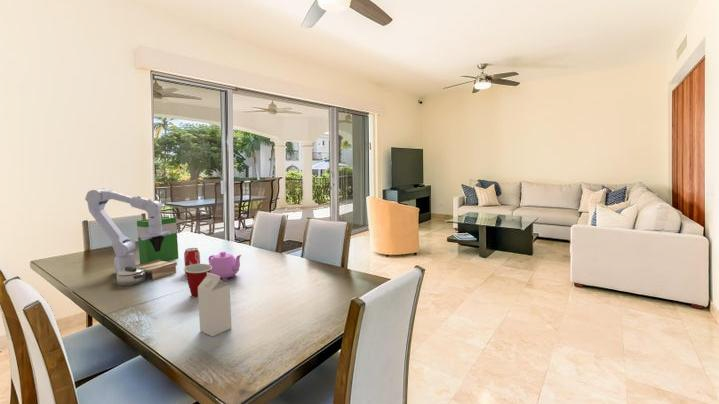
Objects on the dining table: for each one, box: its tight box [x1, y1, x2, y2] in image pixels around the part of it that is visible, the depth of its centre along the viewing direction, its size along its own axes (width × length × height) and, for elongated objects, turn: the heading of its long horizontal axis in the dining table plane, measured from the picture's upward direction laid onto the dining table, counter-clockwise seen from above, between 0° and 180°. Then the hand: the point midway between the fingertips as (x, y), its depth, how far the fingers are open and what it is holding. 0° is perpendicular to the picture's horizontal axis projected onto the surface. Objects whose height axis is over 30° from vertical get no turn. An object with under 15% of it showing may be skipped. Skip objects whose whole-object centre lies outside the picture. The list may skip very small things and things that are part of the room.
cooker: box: [115, 270, 147, 287], centre depth 163 cm, size 15×11×4 cm
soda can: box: [183, 247, 201, 267], centre depth 176 cm, size 7×7×12 cm
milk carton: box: [197, 272, 233, 338], centre depth 115 cm, size 7×7×19 cm
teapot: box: [208, 251, 242, 282], centre depth 168 cm, size 20×14×12 cm
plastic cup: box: [183, 263, 212, 298], centre depth 146 cm, size 11×11×12 cm
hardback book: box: [136, 216, 179, 265], centre depth 197 cm, size 18×7×24 cm, turn 151°
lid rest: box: [135, 259, 178, 280], centre depth 174 cm, size 13×13×5 cm
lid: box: [117, 266, 144, 276], centre depth 162 cm, size 11×11×2 cm
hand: (157, 251), depth 178 cm, fingers closed
